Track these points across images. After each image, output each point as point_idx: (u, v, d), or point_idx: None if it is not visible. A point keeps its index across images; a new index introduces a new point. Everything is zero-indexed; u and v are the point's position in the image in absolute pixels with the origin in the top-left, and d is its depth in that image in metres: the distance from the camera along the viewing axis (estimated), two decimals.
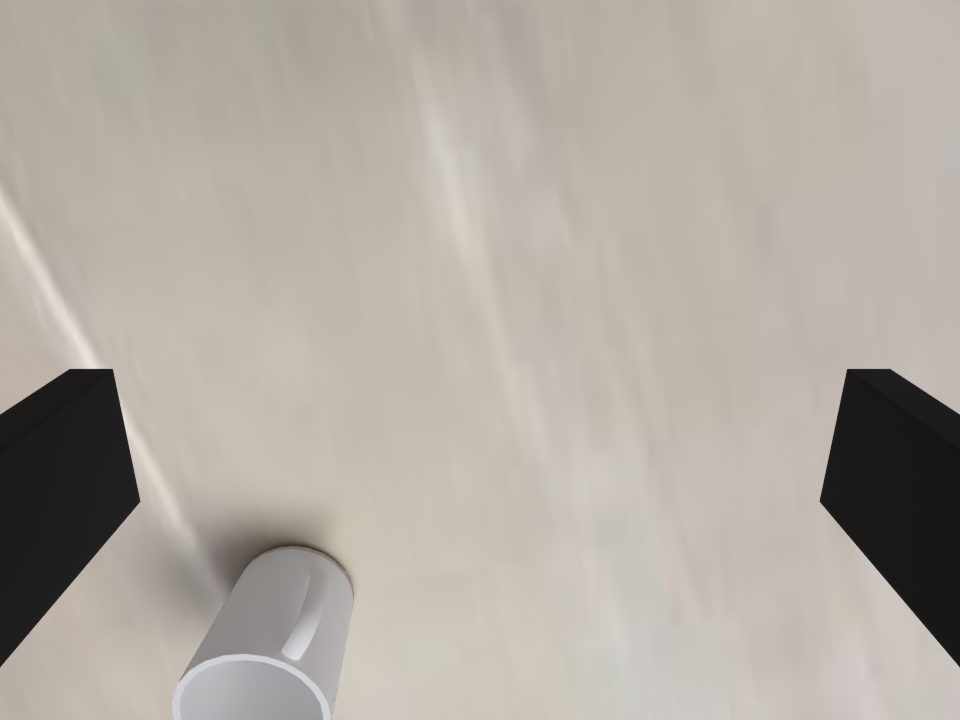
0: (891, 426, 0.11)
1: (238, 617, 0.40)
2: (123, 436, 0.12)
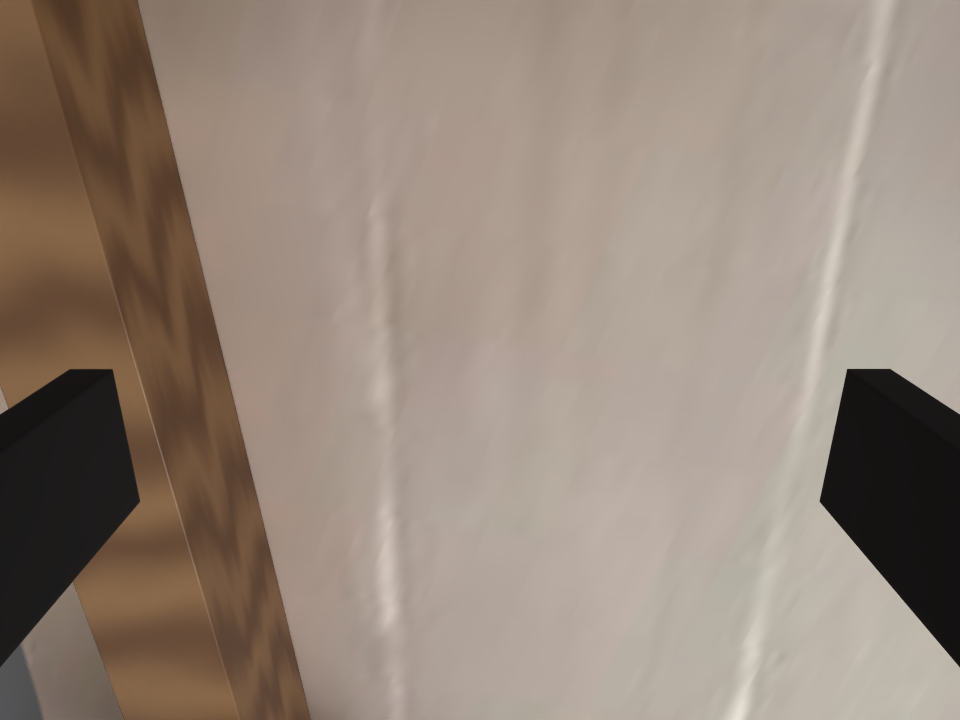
0: (891, 426, 0.11)
1: None
2: (123, 436, 0.12)
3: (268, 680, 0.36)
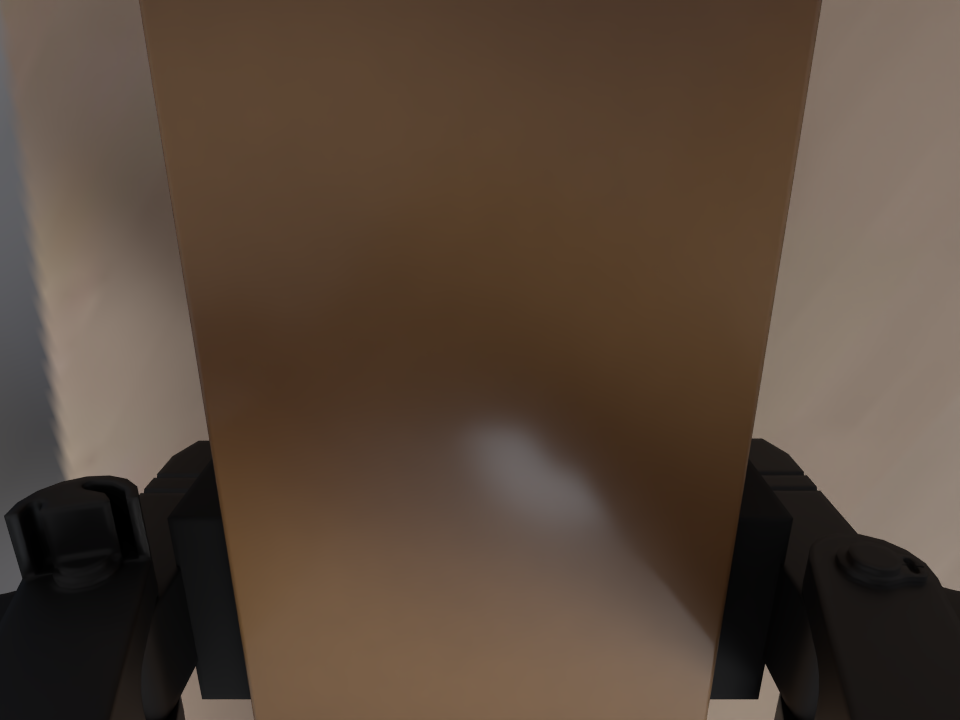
0: None
1: None
2: None
3: None
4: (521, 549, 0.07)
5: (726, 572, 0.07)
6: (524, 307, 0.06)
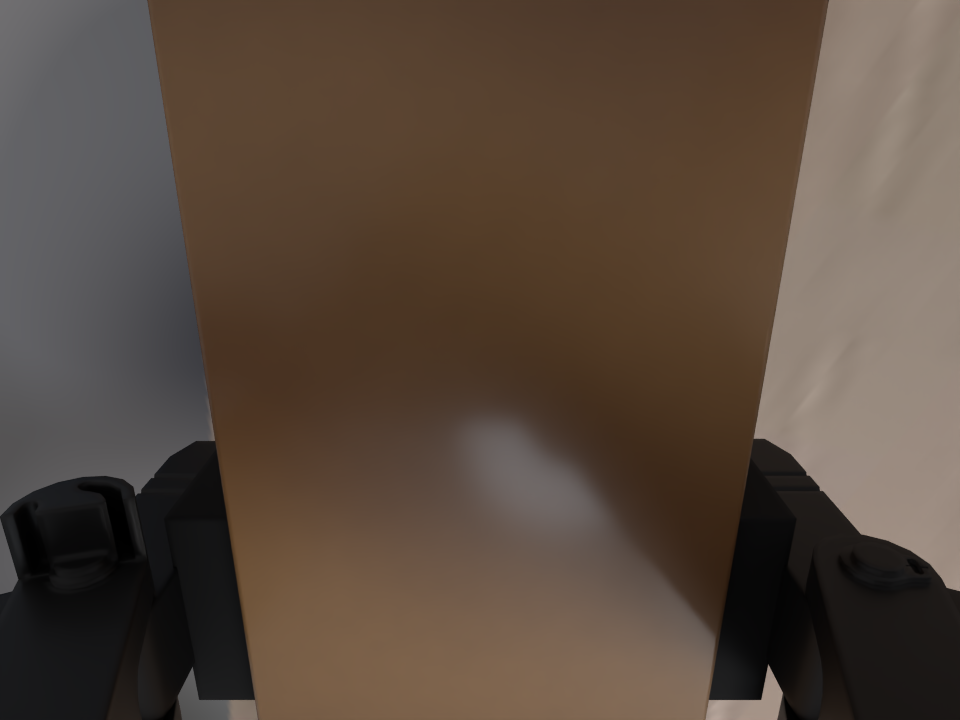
0: None
1: None
2: None
3: None
4: (525, 548, 0.07)
5: (727, 571, 0.08)
6: (531, 311, 0.06)
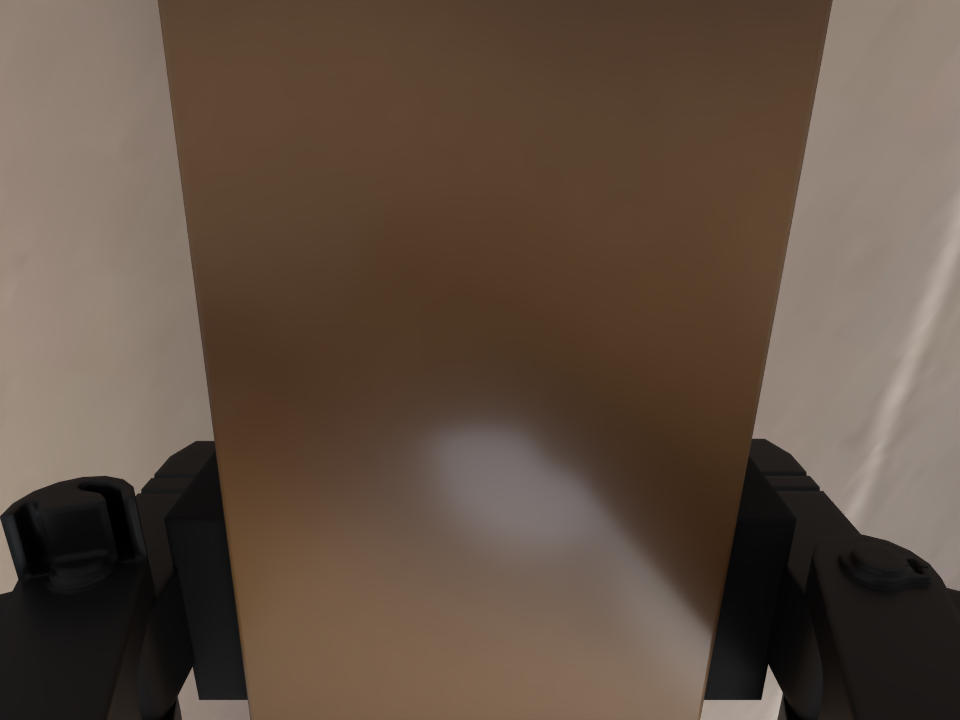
0: None
1: None
2: None
3: None
4: (522, 544, 0.07)
5: (723, 571, 0.08)
6: (531, 304, 0.06)
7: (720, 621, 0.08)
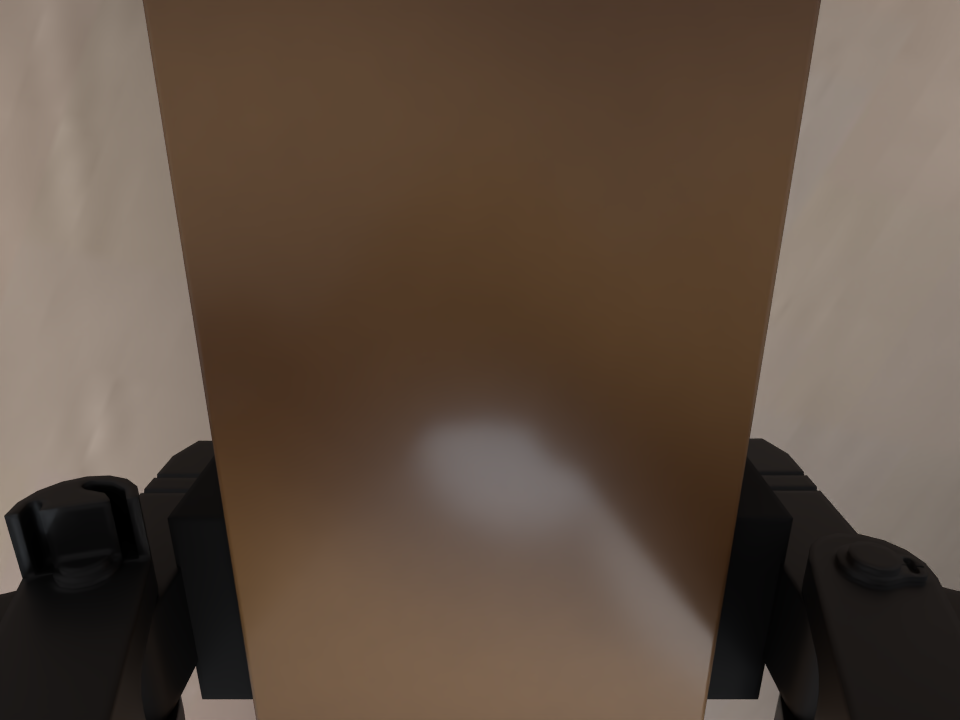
0: None
1: None
2: None
3: None
4: (521, 544, 0.07)
5: (724, 568, 0.08)
6: (525, 306, 0.06)
7: None
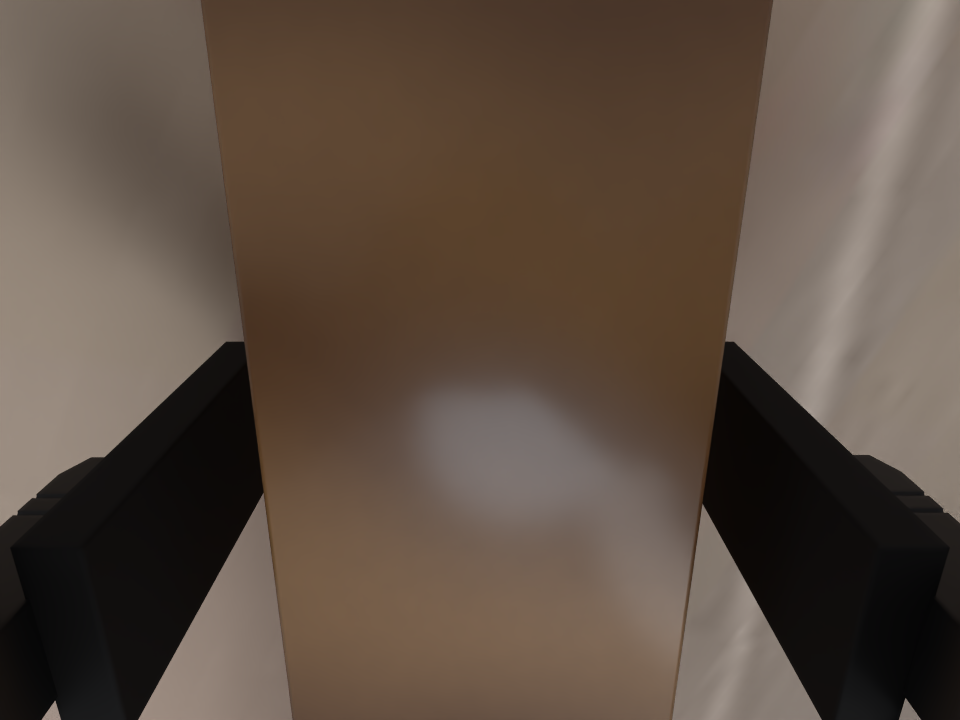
0: (718, 390, 0.12)
1: None
2: None
3: None
4: (519, 497, 0.09)
5: (696, 520, 0.09)
6: (523, 288, 0.08)
7: (859, 654, 0.08)
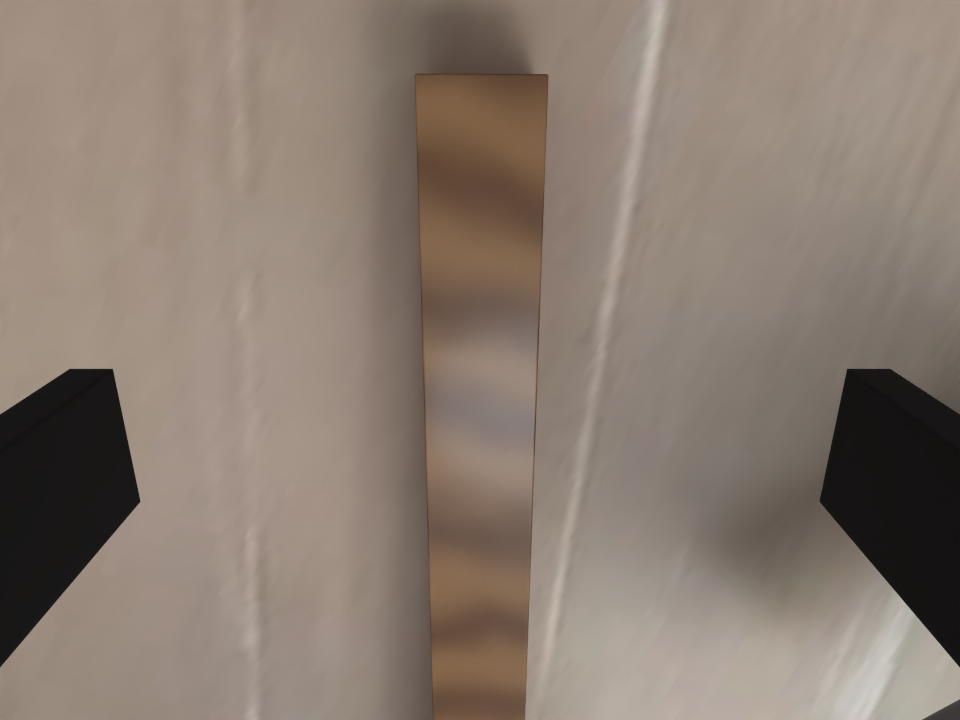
0: (890, 426, 0.11)
1: None
2: (124, 436, 0.12)
3: None
4: (491, 212, 0.30)
5: (541, 220, 0.30)
6: (491, 148, 0.29)
7: None
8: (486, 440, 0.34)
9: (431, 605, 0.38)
